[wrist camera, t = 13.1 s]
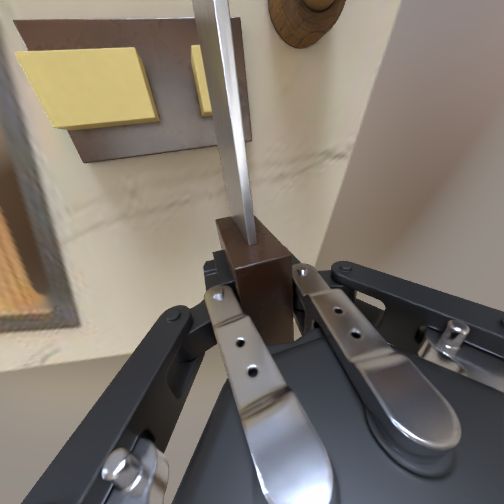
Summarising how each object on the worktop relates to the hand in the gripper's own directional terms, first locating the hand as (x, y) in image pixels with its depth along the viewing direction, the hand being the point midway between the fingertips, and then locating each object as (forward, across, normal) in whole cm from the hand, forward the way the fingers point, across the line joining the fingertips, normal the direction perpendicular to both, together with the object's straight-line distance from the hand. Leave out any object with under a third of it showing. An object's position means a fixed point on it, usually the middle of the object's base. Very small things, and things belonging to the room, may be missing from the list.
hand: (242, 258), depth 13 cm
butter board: (+13, +3, -11) cm, 17 cm away
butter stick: (+12, +7, -11) cm, 18 cm away
